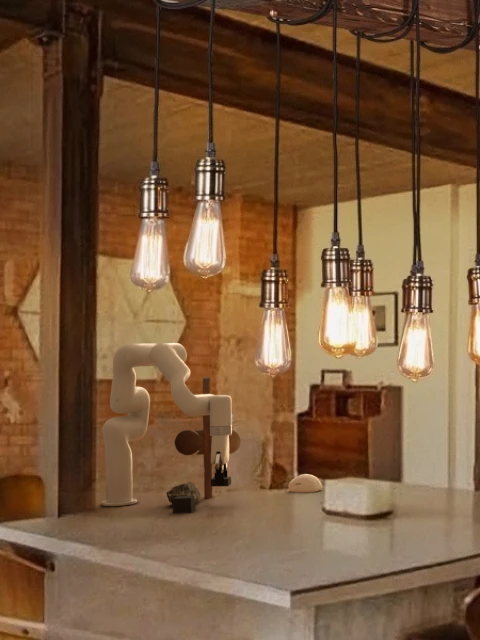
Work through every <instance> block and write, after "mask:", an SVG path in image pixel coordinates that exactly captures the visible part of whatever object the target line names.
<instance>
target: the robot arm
mask: <svg viewBox="0 0 480 640" xmlns="http://www.w3.org/2000/svg"><path fill="white" fill-rule="evenodd" d="M187 357H188V354H187V349H186V348H185V347H184V345H182V344H181V343H178V342H161V343H160V342H154V343H153V342H149V343H148V342H145V343H143V342H142V343H141V342H138V343H136V342H135V343H128V344H124V345H122V346H120V347H118V348H117V350H116V351H115V352H114V355H113V359H112V360H113V361H112V381H111V388H110V398H109V407H110V410H111V411H112V412H113V413H116V414H127V415H121V416H113V417H111V418H109V419H107V420H106V421H105V422H104V424H103V426H102V438H103V443H104V453H105V455H104V456H105V500H102V501H101V506H105V507H121V506H122V507H123V506H131V505H134V504H137V503H138V499H137V498H134V496H133V495H134V490H133V489H134V488H133V485H134V484H133V476H134V475H133V451H132V448H131V446H130V444H129V442H136V441H140V440H142V439H143V438H144V437H145V436H146V434H147V430H148V426H149V417H150V416H149V415H150V407H151V397H150V394H149V392H148V391H147V389H146V388H145V387H142V386H138V385H136V384H137V374H136V370H135V367H156V368H157V370H158V371H159V372H160V373H161V375H162V376H163V377H164V378H165V379H166V380H167V382H168V383H169V385H170V394H171V398H172V400H173V402H174V403H175V405H176V406H177V407H178V408H179V410H180V411H181V412H182V413H183V414H184V415H186V416H187V417H190V418H191V417H192V418H195V417H203V416H207V415H210V436H212V444H211V464H212V466H214V473H213V475H214V476H213V477H214V484H215V485H223V484H224V477H229V476H228V463H229V461H230V454H229V435H232V430H233V418H232V417H233V413H232V411H233V410H232V409H233V407H232V406H233V402H232V401H233V400H232V399H233V398H232V397H231V396H230V395H228V394H213V393H210V394H203V393H201V394H194V393H192V391H190V389H189V388H188V386H187V385H186V382H187V380H189V378H190V376H191V369H190V368H189V367H188V365H187V364H186V363H185V362H186V360H187Z"/></svg>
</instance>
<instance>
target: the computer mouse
mask: <svg viewBox="0 0 480 640" xmlns="http://www.w3.org/2000/svg"><path fill="white" fill-rule="evenodd" d="M287 487H288V492H289V493H290V492H291V493H314V492H319V491H321V490H322V489H323V484H322V483H321V481H320V479H319V478H318V477H317V476H315V475H313V474H309V473H303V474H299V475H297V476H295V477H294V478H292V479H291V481H289V483H288V485H287Z"/></svg>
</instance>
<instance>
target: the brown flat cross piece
mask: <svg viewBox="0 0 480 640" xmlns="http://www.w3.org/2000/svg"><path fill="white" fill-rule="evenodd" d="M202 394H211V378H210V377H209V376H204V377H203V378H202ZM211 444H212V436H210V415H207V416H202V429H195V430H194V431H193V430H190V429H184V430H182V431H180V432H178V434H177V435H176V437H175V439H174V447H175V450H176V451H177V452H178V453H179V454H181V455H183V456H192V455H194V454H195V455H197V456H198V455H199V456H200V455H202V456H203V470H204V471H203V478H204V479H203V489H204V491H203V492H204V493H203V494H204V495H203V496H204V499H211V498H213V487H211V479H212V478H213V465H212V464H211ZM240 447H241V437H240V435H239V433H238V432H237V431H236V430H234V429H232V435H229V455H232V454H234V453H236V452H237V451H238V450H239V448H240Z"/></svg>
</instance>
